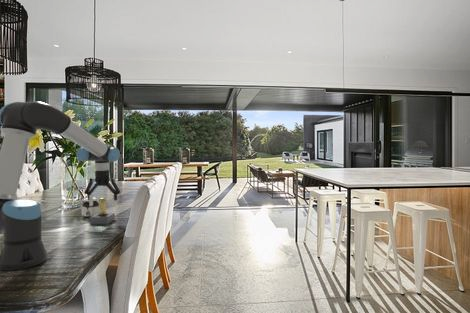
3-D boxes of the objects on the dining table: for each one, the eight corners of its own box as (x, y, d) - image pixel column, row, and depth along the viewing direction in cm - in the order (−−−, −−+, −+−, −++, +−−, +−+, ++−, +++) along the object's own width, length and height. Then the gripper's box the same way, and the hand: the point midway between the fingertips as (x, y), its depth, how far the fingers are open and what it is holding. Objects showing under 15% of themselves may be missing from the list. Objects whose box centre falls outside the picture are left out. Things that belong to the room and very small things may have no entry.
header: (107, 224, 161) (107, 217, 160) (89, 224, 161) (89, 217, 160) (114, 219, 171) (114, 213, 170) (98, 219, 171) (98, 213, 170)
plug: (104, 222, 164) (104, 199, 163) (97, 222, 164) (97, 198, 163) (107, 221, 168) (107, 197, 167) (100, 220, 168) (100, 197, 167)
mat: (101, 232, 146) (101, 231, 146) (84, 231, 146) (84, 231, 146) (109, 227, 155) (109, 226, 155) (92, 226, 155) (92, 226, 155)
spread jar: (79, 217, 175) (79, 198, 175) (92, 213, 186) (92, 195, 186) (95, 218, 173) (95, 200, 172) (108, 214, 184) (108, 196, 183)
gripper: (125, 169, 168) (126, 204, 169) (84, 169, 168) (85, 204, 169) (120, 170, 161) (121, 207, 162) (77, 170, 161) (78, 207, 162)
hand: (102, 205), depth 165 cm, fingers open, 13 cm apart
